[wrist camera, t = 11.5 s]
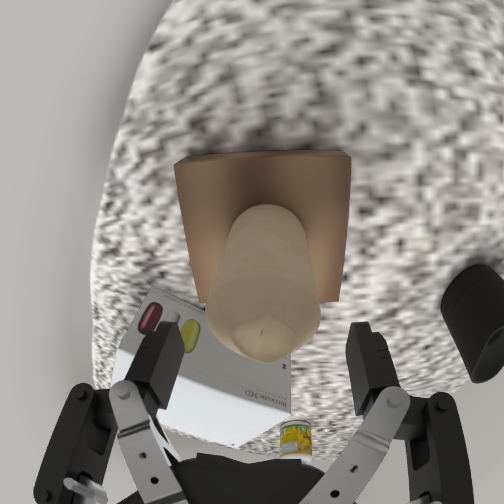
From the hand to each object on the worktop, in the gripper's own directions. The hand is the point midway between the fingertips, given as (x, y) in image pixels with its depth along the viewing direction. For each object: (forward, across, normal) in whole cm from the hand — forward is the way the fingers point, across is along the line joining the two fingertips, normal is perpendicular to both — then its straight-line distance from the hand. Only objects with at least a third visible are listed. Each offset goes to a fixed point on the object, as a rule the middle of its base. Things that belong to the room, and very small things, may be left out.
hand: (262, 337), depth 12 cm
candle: (+10, 0, 0) cm, 10 cm away
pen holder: (+13, -24, +9) cm, 28 cm away
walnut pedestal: (+12, 0, 0) cm, 12 cm away
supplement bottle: (+13, -4, +38) cm, 40 cm away
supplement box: (+13, +8, +16) cm, 22 cm away
